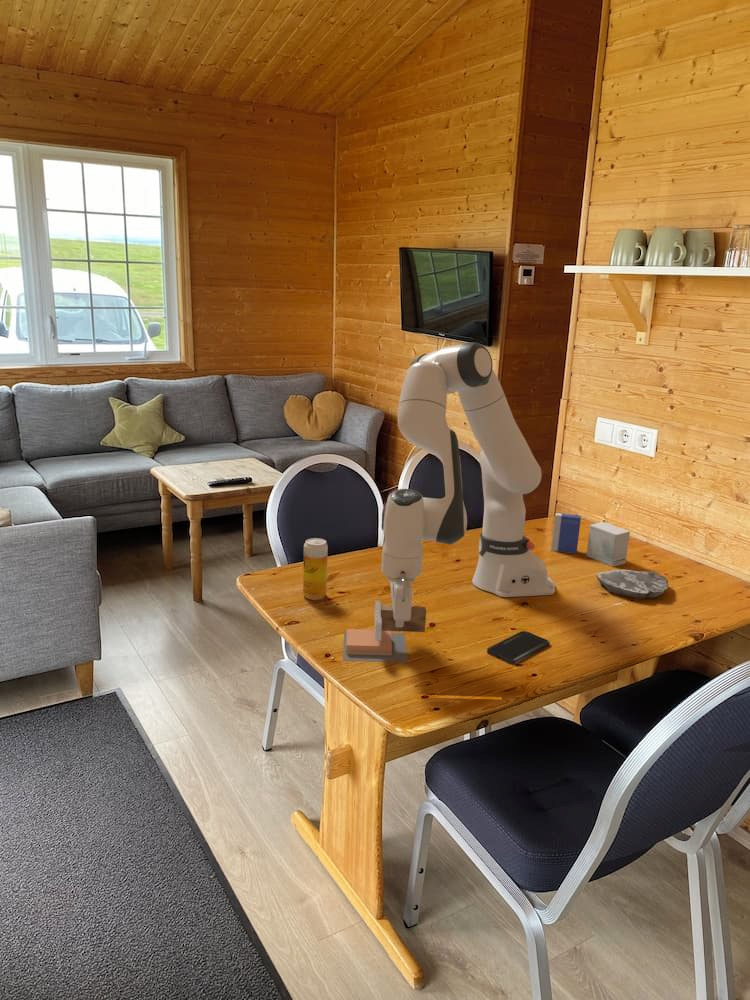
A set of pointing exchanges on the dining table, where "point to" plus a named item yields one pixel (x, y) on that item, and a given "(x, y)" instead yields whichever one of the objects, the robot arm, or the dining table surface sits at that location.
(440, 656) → the dining table surface
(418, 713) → the dining table surface
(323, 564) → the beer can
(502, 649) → the phone
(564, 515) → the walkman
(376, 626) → the walnut scraper
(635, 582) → the grey stone slab
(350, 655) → the charcoal mat
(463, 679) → the dining table surface
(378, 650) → the terracotta tile
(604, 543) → the skincare box
